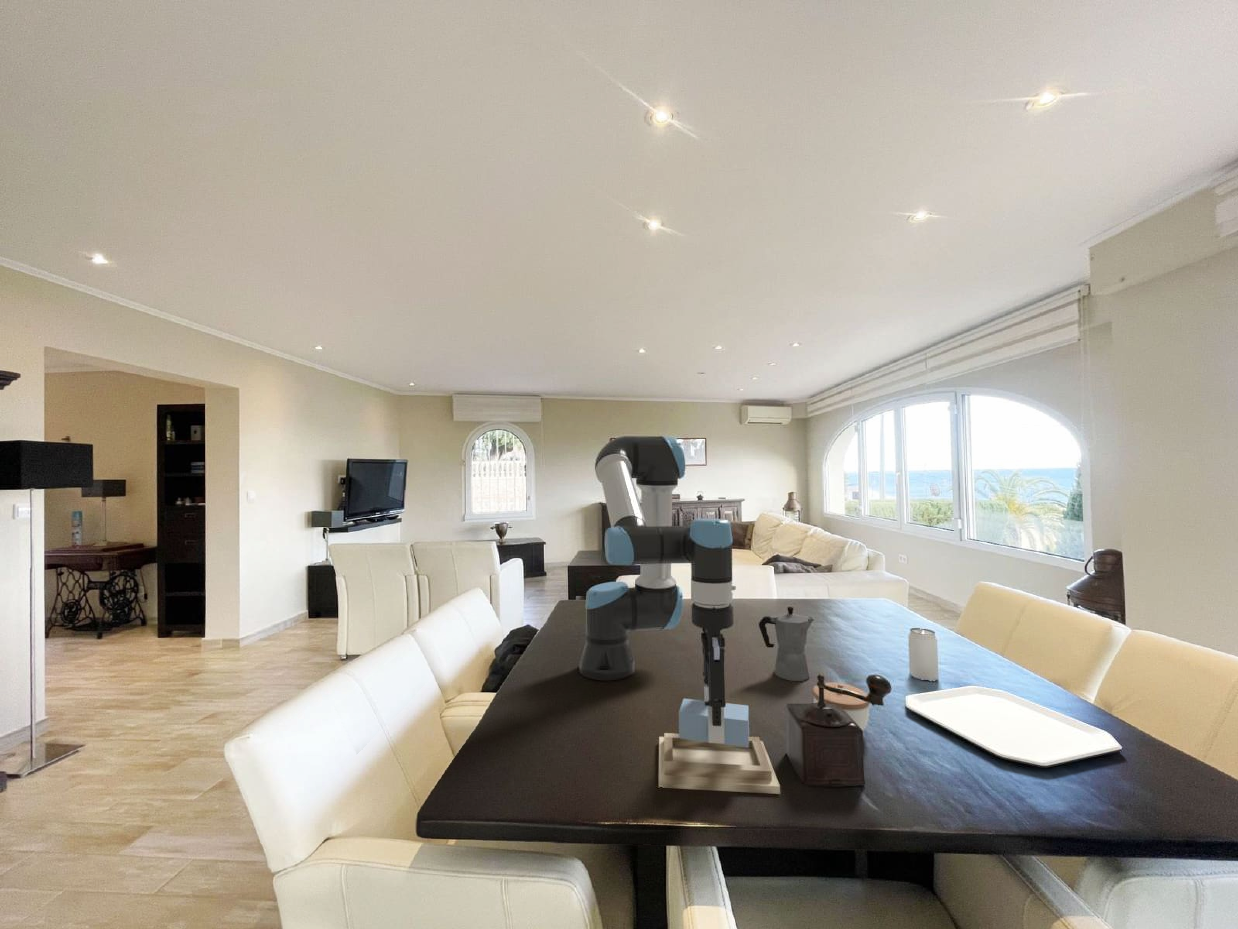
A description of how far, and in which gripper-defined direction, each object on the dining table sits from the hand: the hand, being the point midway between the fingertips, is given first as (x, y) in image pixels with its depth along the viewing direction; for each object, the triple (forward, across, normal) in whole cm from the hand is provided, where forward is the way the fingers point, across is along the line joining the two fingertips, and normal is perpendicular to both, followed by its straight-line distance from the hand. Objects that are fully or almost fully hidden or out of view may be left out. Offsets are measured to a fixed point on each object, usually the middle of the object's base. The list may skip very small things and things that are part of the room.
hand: (714, 731), depth 87 cm
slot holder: (+6, 0, 0) cm, 6 cm away
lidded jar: (+6, +15, -28) cm, 32 cm away
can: (+6, +46, -59) cm, 75 cm away
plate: (+7, +19, -62) cm, 65 cm away
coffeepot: (+6, +44, -24) cm, 51 cm away
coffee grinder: (+7, +1, -22) cm, 23 cm away
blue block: (+1, 0, 0) cm, 1 cm away
